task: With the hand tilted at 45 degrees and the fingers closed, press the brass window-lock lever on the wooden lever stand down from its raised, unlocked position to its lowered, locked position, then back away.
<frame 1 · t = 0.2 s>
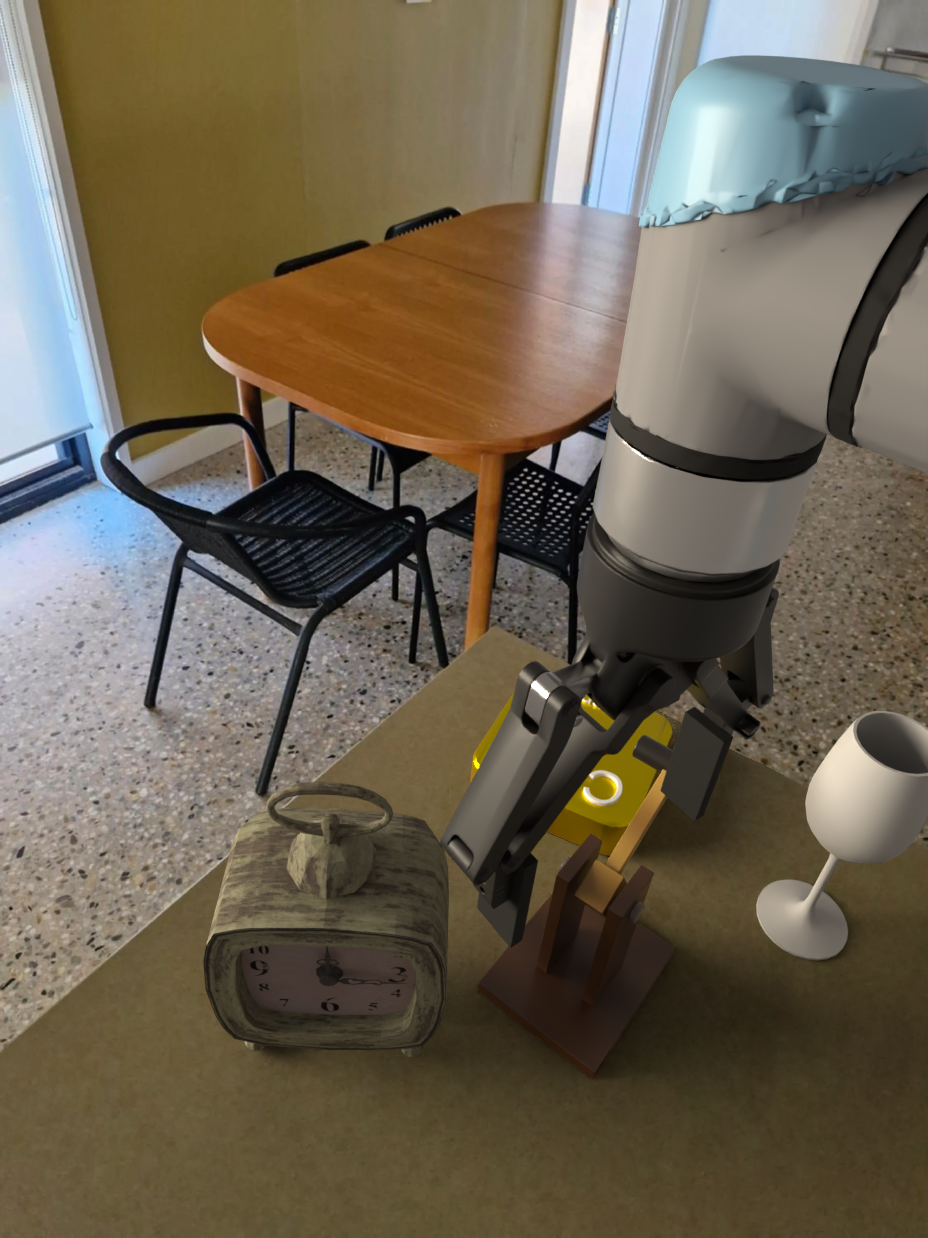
hand: (596, 859, 48), 23 cm above the counter, tool pointing down, fingers open, 13 cm apart
tabletop clock: (338, 1010, 64), on the counter
wooden lever stand: (577, 973, 67), on the counter
element tile: (568, 774, 83), on the counter
lock lever: (637, 829, 61), point 13 cm above the counter, hinge at 30.0°
wineglass: (800, 920, 72), on the counter
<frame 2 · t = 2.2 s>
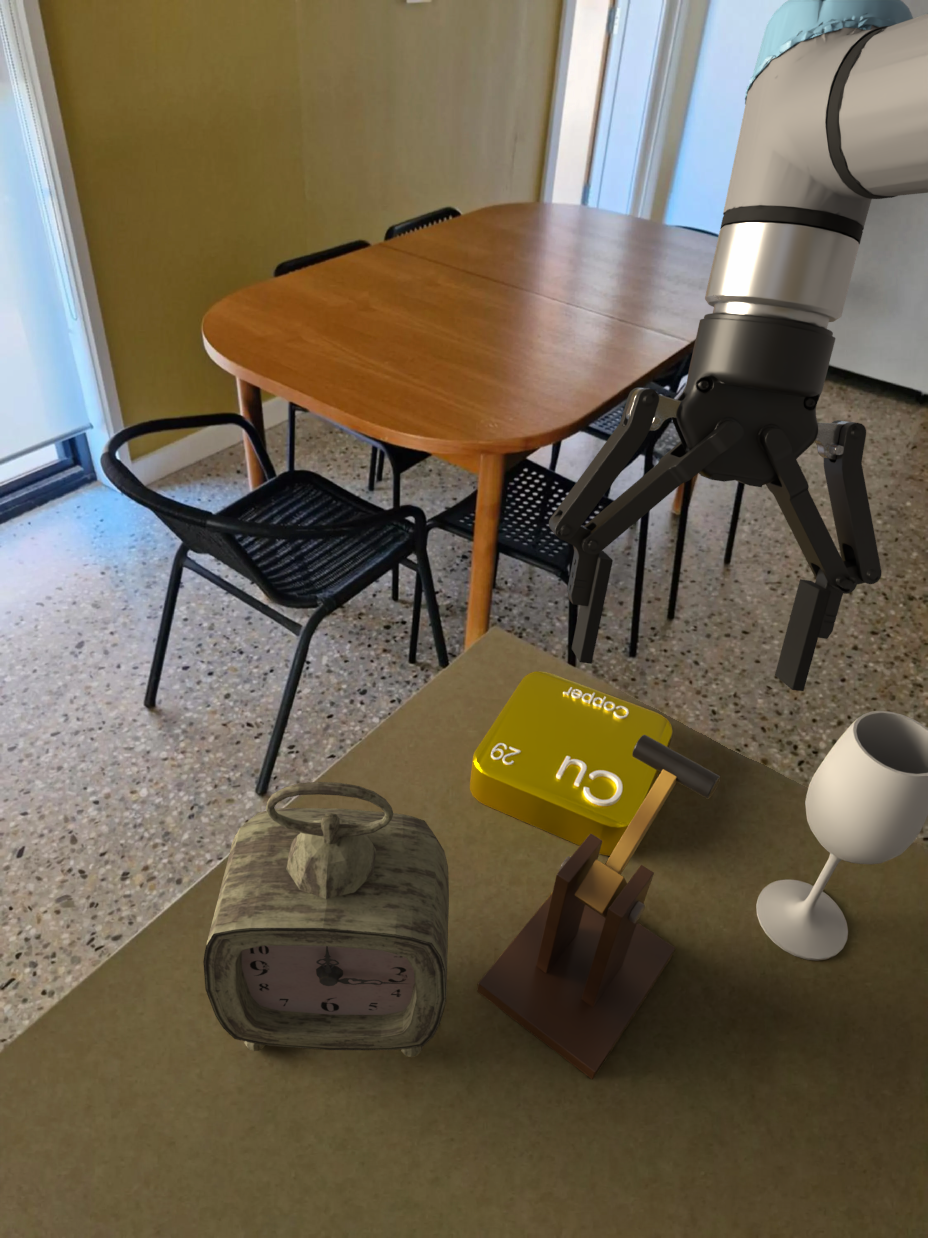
hand: (686, 670, 56), 26 cm above the counter, tool tilted 25°, fingers open, 13 cm apart
nothing on the counter moved.
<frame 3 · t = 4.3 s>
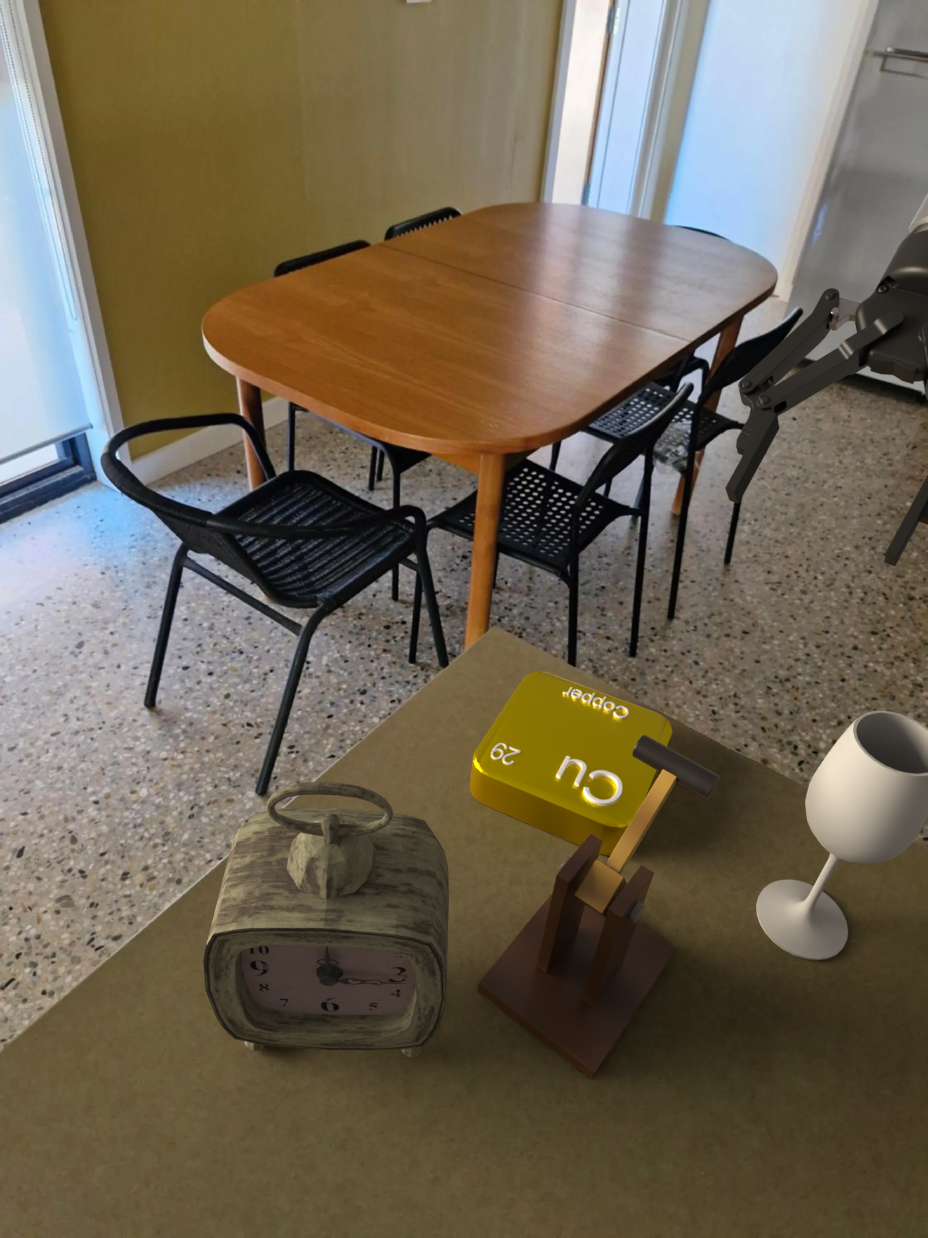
hand: (807, 526, 63), 29 cm above the counter, tool tilted 45°, fingers open, 11 cm apart
nothing on the counter moved.
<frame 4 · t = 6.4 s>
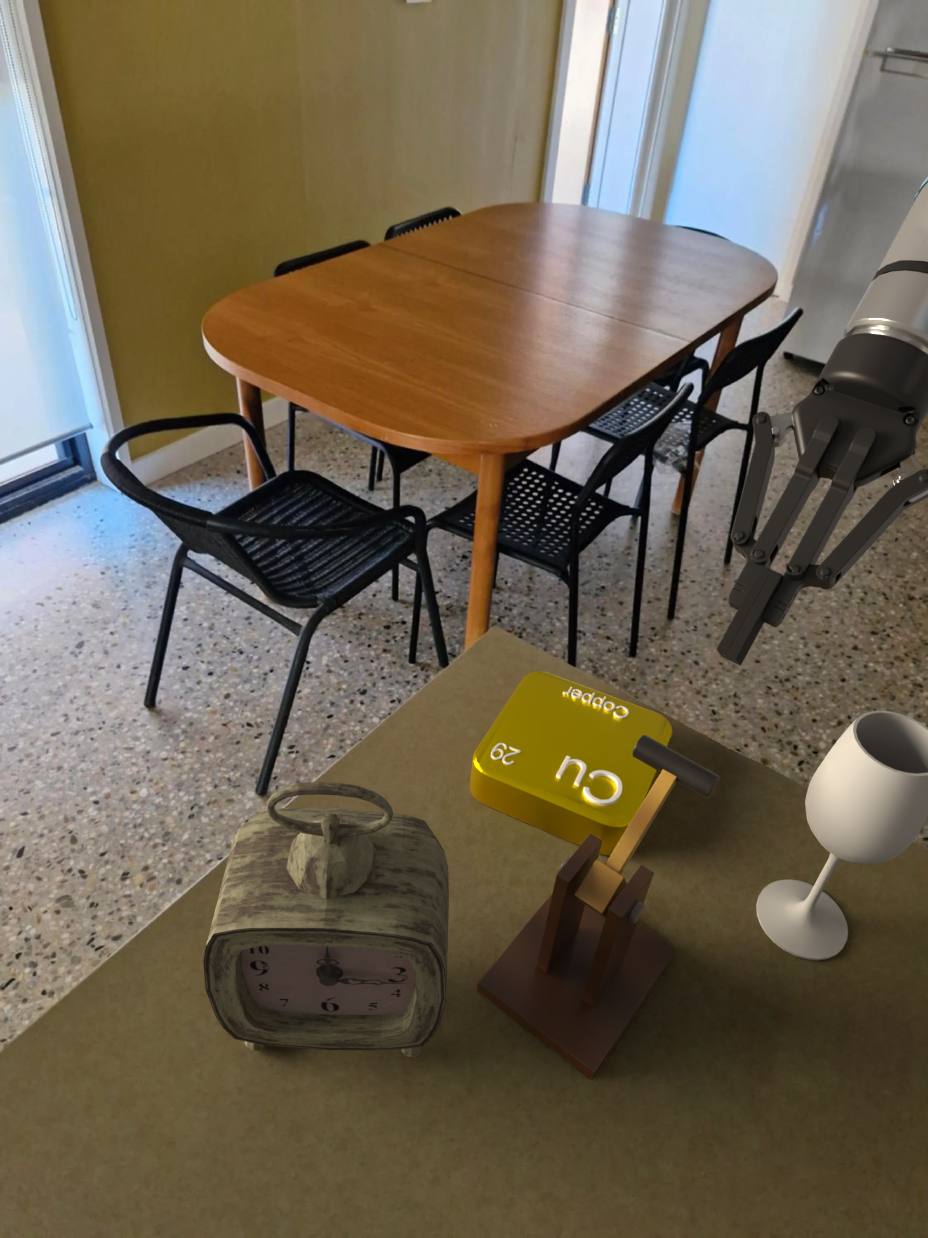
hand: (728, 657, 61), 23 cm above the counter, tool tilted 45°, fingers closed
nothing on the counter moved.
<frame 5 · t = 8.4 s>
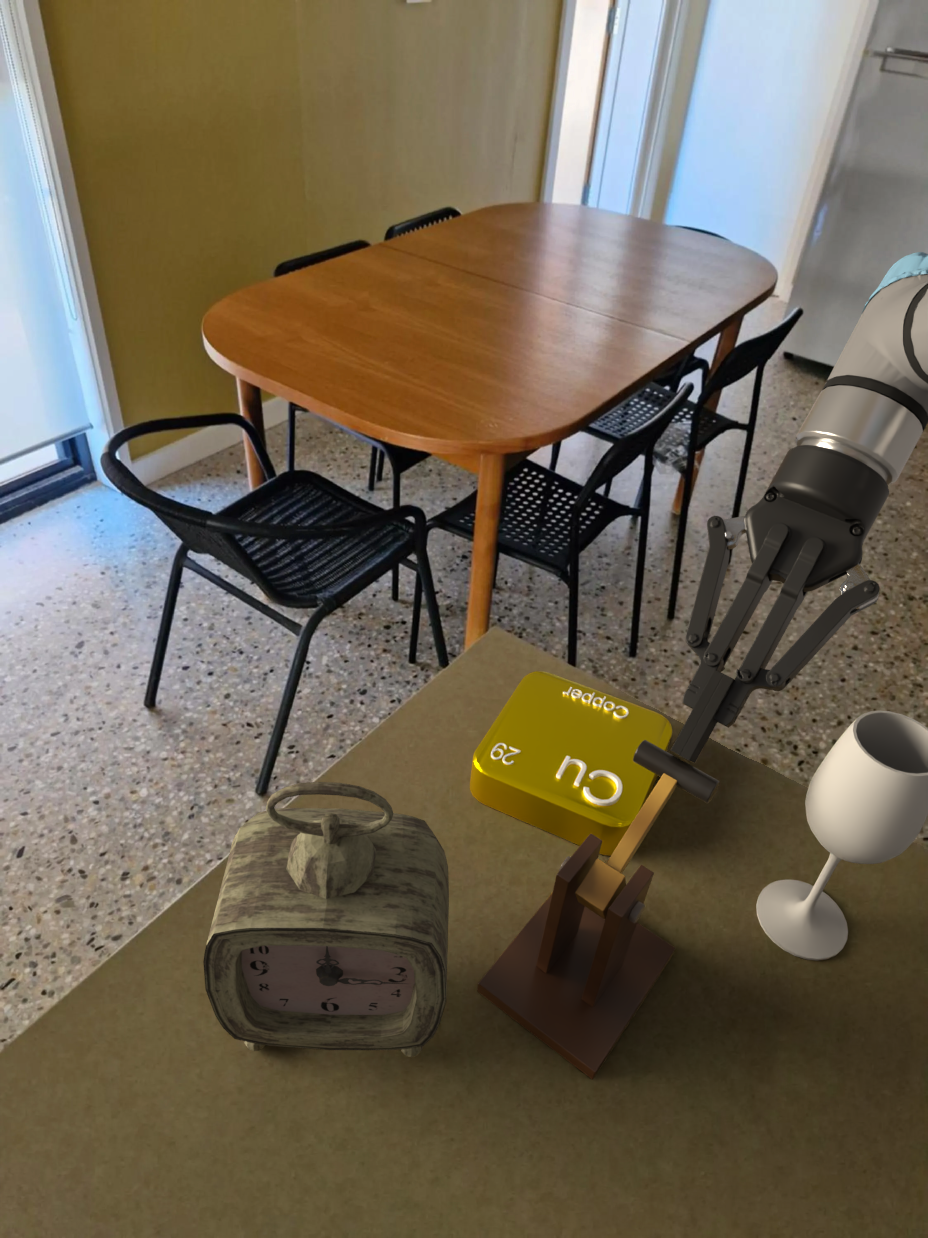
hand: (682, 756, 63), 16 cm above the counter, tool tilted 45°, fingers closed
lock lever: (637, 831, 62), point 13 cm above the counter, hinge at 23.9°, touching gripper
everything else where it was.
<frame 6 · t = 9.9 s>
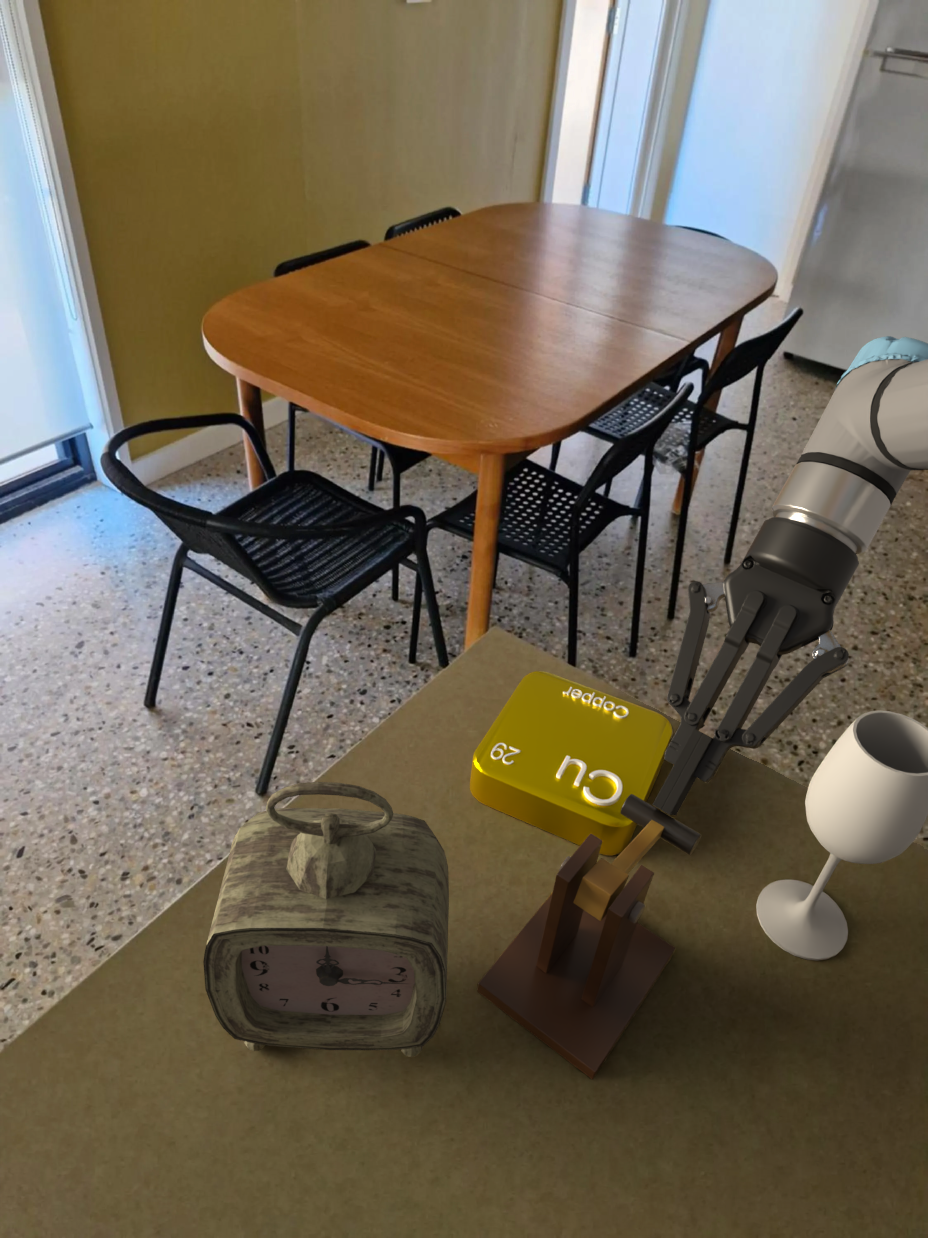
hand: (664, 810, 67), 10 cm above the counter, tool tilted 45°, fingers closed
lock lever: (630, 856, 64), point 10 cm above the counter, hinge at -14.6°, touching gripper
everything else where it was.
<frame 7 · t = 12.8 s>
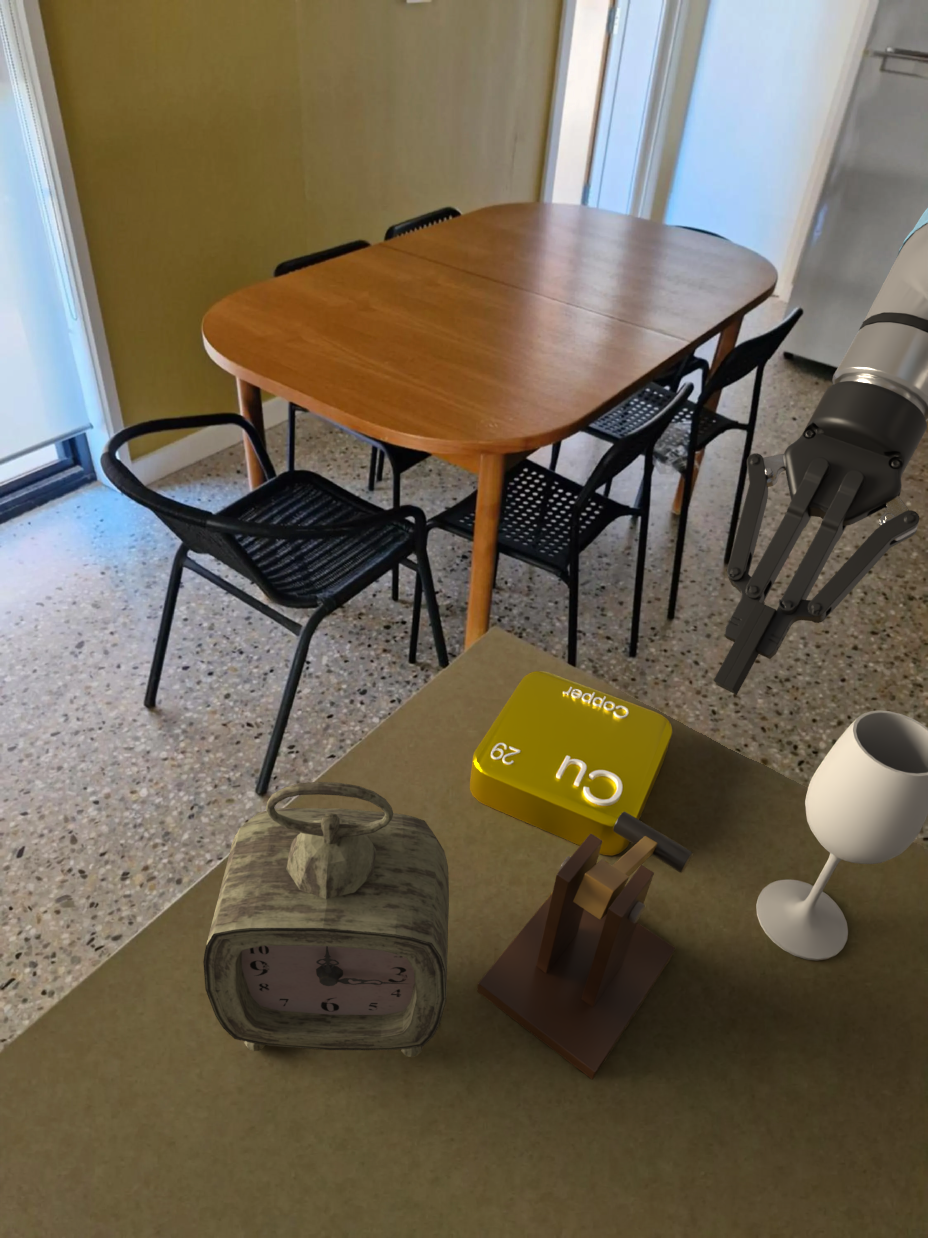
hand: (725, 687, 65), 19 cm above the counter, tool tilted 45°, fingers closed
lock lever: (627, 865, 64), point 9 cm above the counter, hinge at -24.4°
everything else where it was.
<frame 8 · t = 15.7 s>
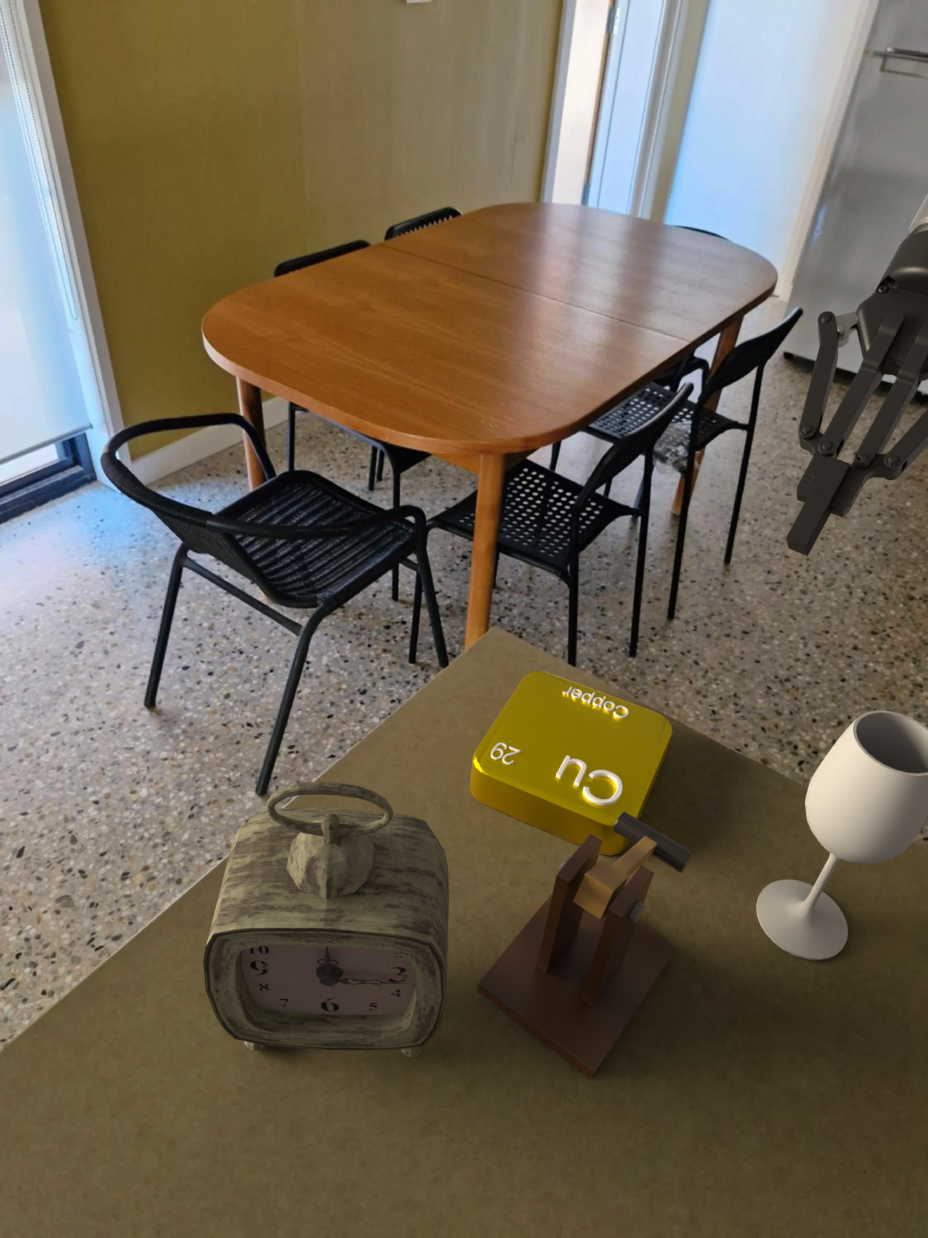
hand: (797, 546, 63), 28 cm above the counter, tool tilted 45°, fingers closed
nothing on the counter moved.
at the end: lock lever at -24° (first picture: +30°); wineglass moved 0.2 cm from its start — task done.
